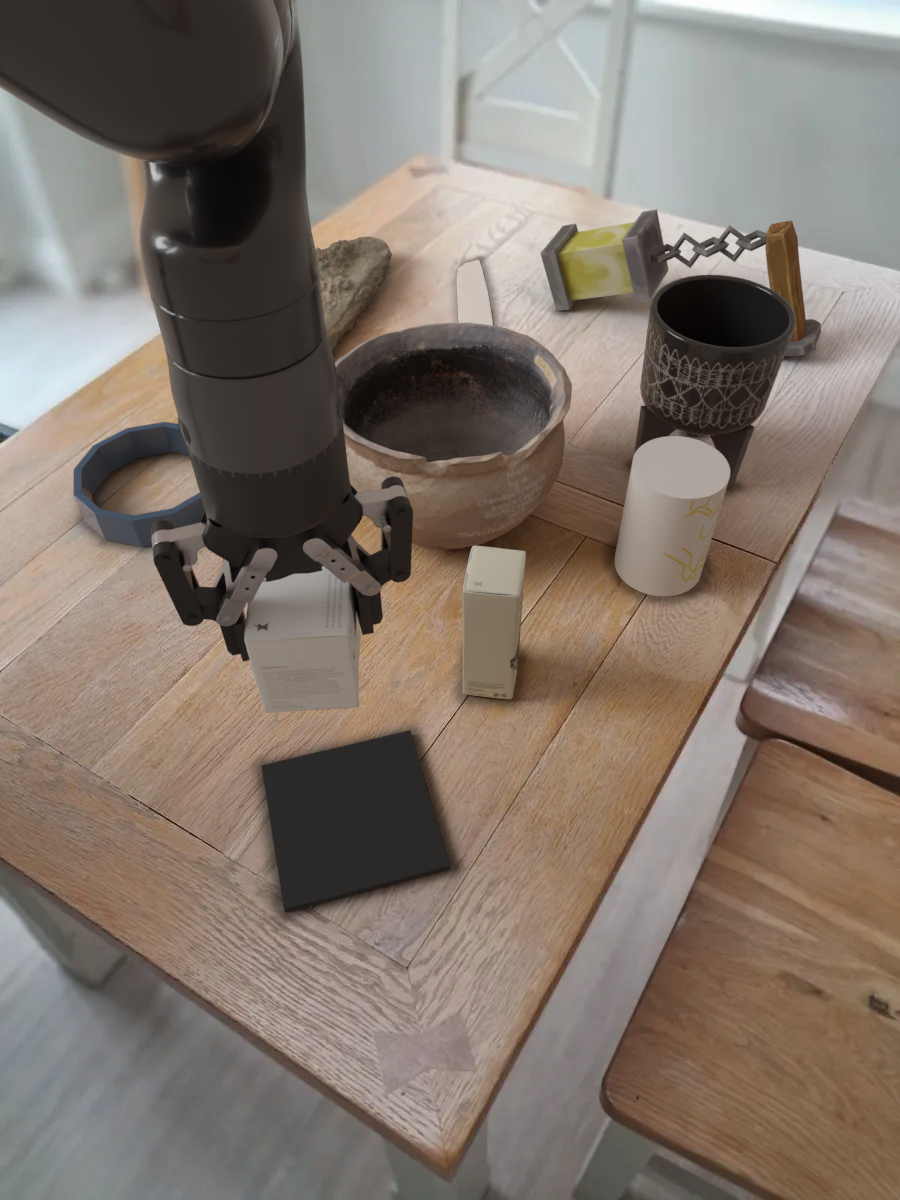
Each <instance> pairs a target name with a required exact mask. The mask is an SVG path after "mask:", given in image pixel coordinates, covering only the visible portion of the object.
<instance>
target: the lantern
mask: <svg viewBox="0 0 900 1200" xmlns="http://www.w3.org/2000/svg"><path fill="white" fill-rule="evenodd" d="M578 229H579V228H578V226H577V223H571V224H565V225H562V226H561V227H560V229H558V231H557V232H556V233H555V234H554V235H553V237H552V238H551V239H550V241H549V242H548V243H547V244H546V245H545V247H544V248H543V249H542V250H541V251H540V257H541V261H542V264H543V268H544V272H545V275H546V279H547V282H548V285H549V286H548V287H549V289H550V293H551V296H552V300H553V304H554V307H555V311H556V312H559V311H569V310H571V308H572V307H573V306H574V304H575V303H576V302H577V300H579V301H580V300H587V299H595V298H601V297H609V296H618V295H627V294H633V297H634V301H635V302H644V301H650V300H652V298H653V297H654V295H655V294H656V292H657V289H658V288H659V286H660V284H661V283H662V282H663V280H664V278H665V277H666V275H667V274H668V272H669V265H668V261H669V260H672V259H674V258H675V259H676V260H678V261H679V262H681V263H682V264H683V265H685V266H687V267H688V268H689V269H691V268H692V267H693V266H694V265H695V263H696V262H697V260H698V259H699V258H700V256H702V257H704V258H709V257H711V256H713V255H716V254H718V253H721V254H723V256H725V257H727V258H728V259H729V260H731V261H732V262H734V263H736V261H737V260H738V259H739V257H740V256H741V255H742V254H743V252H744V251H745V250H747V251H750V252H753V251H755V250H757V249H759V248H761V247H763V246H765V259H766V269H767V276H768V277H767V278H768V282H769V288H770V289H771V290H773V291H775V292H776V293H778V294H779V295H780V296H782V297H783V298H784V299H785V300H786V301H787V302H788V303H789V304H790V306H791V308H792V309H793V311H794V314H795V317H796V325H795V328H794V331H793V334H792V337H791V339H790V342H789V345H788V347H787V350H786V353H785V355H784V357H794V356H795V357H797V356H806V354H808V353H811V352H812V351H814V350H816V347H817V344H818V342H819V340H820V339H819V338H820V336H821V334H822V324H821V322H820V321H818V320H816V319H815V318H810V319H808V318H807V319H806V310H805V309H806V308H805V302H804V291H803V282H802V274H801V266H800V265H801V264H800V252H799V239H798V238H799V237H798V235H797V231H796V228H795V225H794V221H793V220H791V219H790V220H787V221H781V222H776V223H770V225H769V227H768V229H767V231H766V232H765V231H763V230H759V229H756V230H754V231H752V232H750V233H748V234H746V235H744V234H743V233H741V232H740V231H739V230H738V229H736V228H734V227H733V226H732V225H731V224H729V225H727V227H726V229H724V231H723V233H722V234H721V235H720V236H719V237H716V236H712V237H710V238H707V239H705V240H703V241H701V242H699V241H697V240H696V239H694V237H691V236H690V235H689V234H687V233H686V232H683V233H682V234H681V236H680V237H679V239H677V241H676V243H675V244H674V245H671V244H669V243H666V244H664V238H663V235H662V229H661V224H660V218H659V213H658V209H657V208H656V209H651V210H645V211H644V210H643V211H641V212H640V214H639V216H638V217H637V218H636V219H635V221H634V222H633V221H632V222H628V223H627V222H626V223H623V224H616V225H611V226H605V227H599V228H592V229H586V230H581V231H579V230H578ZM730 234H731V235H733V236H734V237H736V238H737V240H736V241H735V242H734V244H735V245H736V246H738V249H737V250H736V251H735V252H734V254H733V253H732V252H730V251H729V250H727V248H728V247H729V245H730V243H728V241H726V239H727V237H729V236H730ZM758 238H759V239H758ZM756 239H758V240H756ZM754 240H755V241H754ZM685 241H686V242H688V243H689V244H691V245H692V246H693V247H692V248H691V250H692V252H694V254H693V255H692V256H691V258H690V259H687V258H685V257H684V256H683V255H681V253H682V250H680V248H681V246H682V245H683V243H684V242H685ZM752 241H753V242H752ZM711 246H712V247H711Z"/></svg>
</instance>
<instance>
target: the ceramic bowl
mask: <svg viewBox="0 0 900 1200" xmlns="http://www.w3.org/2000/svg"><path fill="white" fill-rule="evenodd" d="M335 366H336V372H337V378H338V386H339V390H340V393H341V395H342V399H343V413H342V420H343V428H344V436H345V445H346V453H347V462H348V470H349V479H350V484H351V485H352V486H353V487H354V488H355V489H356V491H357V492H365V491H372V490H380V489H381V485H382V482H383V481H384V480H385V479H386V478H388V477H392V476H396V477H399V478H400V479H401V480H402V482H403V485H404V488H405V490H406V493H407V496H408V498H409V501H410V504H411V506H412V509H413V528H412V545H416V546H418V547H422V548H429V549H437V550H455V549H464V548H468V547H469V548H470V547H472V546H474V545H475V546H480V545H483V544H485V543H488V542H489V541H492V540H494V539H497V538H499V537H501V536H503V535H504V534H507V533H508V532H510V531H511V530H513V529H515V528H517V526H519V525H520V524H521V523H523V522H524V521H525V520H526V519H527V518H528V517H529V516H530V515H531V514H532V513H533V512H534V511H535V510H536V508H538V506H539V505H541V504H542V502H543V501H544V500H545V499H546V497H547V496H548V495H549V493H550V492H551V490H552V488H553V487H554V484H555V483H556V480H557V479H558V477H559V474H560V471H561V468H562V465H563V460H564V454H565V437H566V435H565V423H564V419H565V417H566V415H567V414H568V412H569V410H570V409H571V403H572V393H573V383H572V381H571V380H570V378H569V375H568V373H567V371H566V369H565V367H564V366H563V365H562V363H560V361H559V360H558V359H557V358H556V357H555V355H554V354H553V353H552V352H551V351H550V350H549V349H548V348H547V347H545V346H544V345H543V344H542V343H540V342H539V341H538V340H536V339H534V338H533V337H532V336H529V335H527V334H523V333H520V332H517V331H515V330H513V329H510V328H506V327H502V326H498V325H497V326H496V325H493V326H492V325H483V324H476V323H459V322H443V323H442V322H441V323H429V324H422V325H417V326H413V327H408V328H405V329H400V330H396V331H392V332H388V333H383V334H380V335H376V336H373V337H370V338H369V339H367V340H365V341H363V342H362V343H360V344H358V345H357V346H355V347H354V348H352V349H351V350H349V351H348V352H347V353H346V354H344V355H342V356H341V357H339V358H337V360H336V361H335ZM365 517H366V518H368V519H369V520H370V521H371V522H373V519H372V518H371V517H369V516H365Z"/></svg>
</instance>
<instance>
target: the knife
mask: <svg viewBox="0 0 900 1200" xmlns="http://www.w3.org/2000/svg"><path fill="white" fill-rule="evenodd" d="M484 274H485V273H484V271H483V266H482V264H481V261H480V259H476V260H475V259H474V260H471V261H468V262H464V264H462V265H461V266H459V267H458V269H457V273H456V298H457V299H456V301H457V316H458V323H476V324H483V325H492V326H494V324H493V323H494V322H493V316H492V309H491V308H492V307H491V302H490V297H489V290H488V286H487V282H486V279H485V275H484Z"/></svg>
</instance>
